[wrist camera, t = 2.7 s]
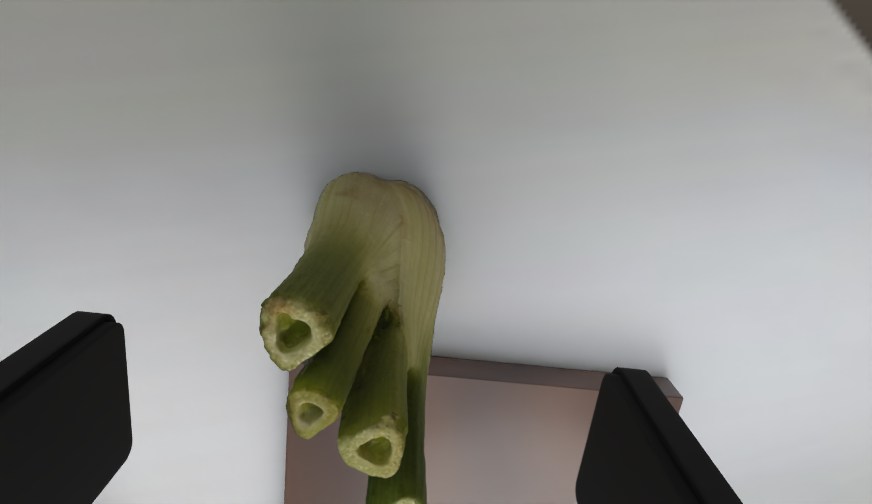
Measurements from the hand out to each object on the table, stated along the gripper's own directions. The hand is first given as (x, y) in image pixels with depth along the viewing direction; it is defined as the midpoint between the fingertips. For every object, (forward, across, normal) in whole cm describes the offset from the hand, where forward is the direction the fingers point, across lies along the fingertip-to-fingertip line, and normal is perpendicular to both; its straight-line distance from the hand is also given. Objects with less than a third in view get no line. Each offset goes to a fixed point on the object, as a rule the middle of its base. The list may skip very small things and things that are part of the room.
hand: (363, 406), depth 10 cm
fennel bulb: (+11, +1, 0) cm, 11 cm away
